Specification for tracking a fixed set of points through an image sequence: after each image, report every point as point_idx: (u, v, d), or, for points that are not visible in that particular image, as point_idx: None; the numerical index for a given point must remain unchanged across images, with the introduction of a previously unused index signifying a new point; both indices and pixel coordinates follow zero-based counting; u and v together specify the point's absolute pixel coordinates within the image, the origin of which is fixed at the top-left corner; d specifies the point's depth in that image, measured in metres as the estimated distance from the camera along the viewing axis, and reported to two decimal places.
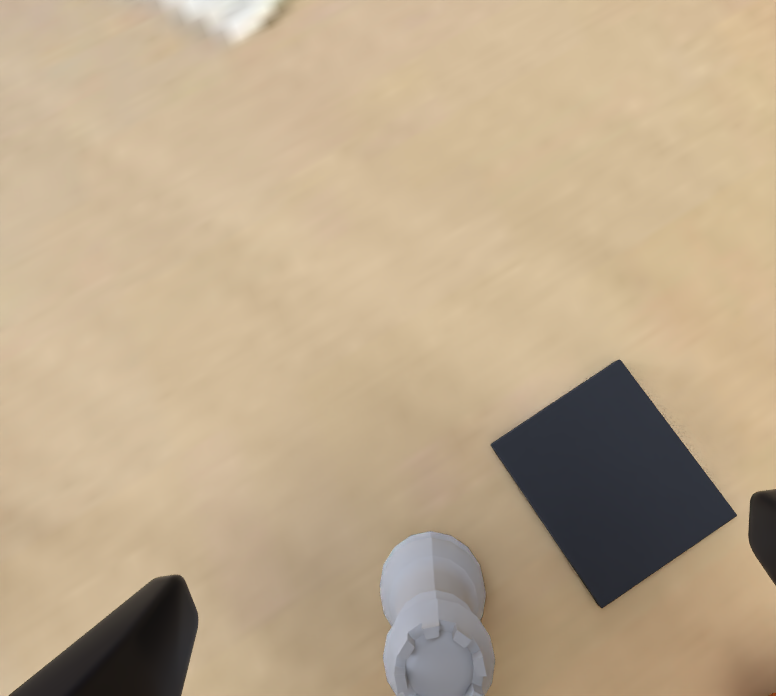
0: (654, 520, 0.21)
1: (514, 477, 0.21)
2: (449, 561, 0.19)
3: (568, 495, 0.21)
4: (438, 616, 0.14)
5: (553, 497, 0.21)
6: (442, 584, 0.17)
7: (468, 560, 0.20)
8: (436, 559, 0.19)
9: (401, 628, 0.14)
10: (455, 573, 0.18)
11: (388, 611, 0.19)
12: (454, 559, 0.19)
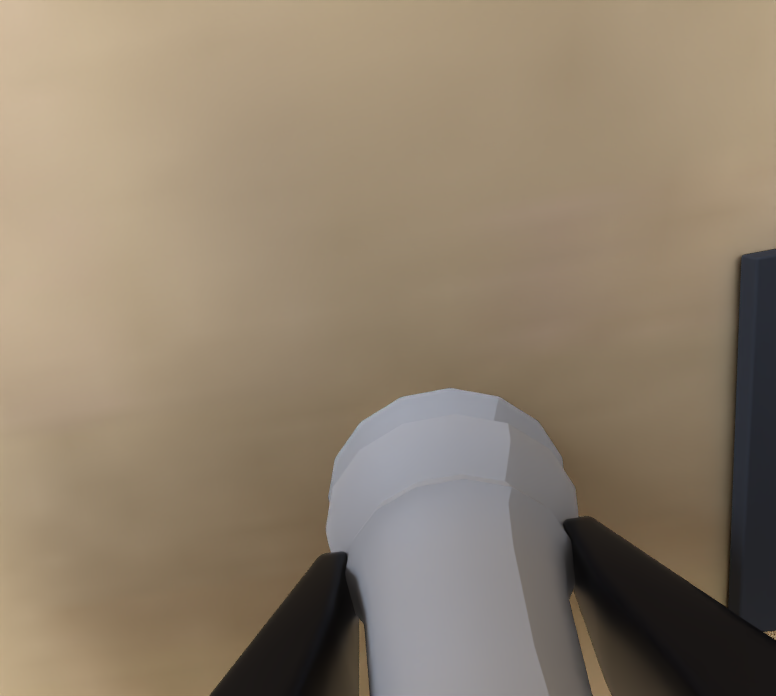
0: None
1: (754, 356, 0.08)
2: (548, 515, 0.07)
3: None
4: None
5: None
6: (550, 630, 0.05)
7: (575, 509, 0.08)
8: (519, 500, 0.07)
9: None
10: (557, 553, 0.07)
11: (339, 542, 0.08)
12: (551, 503, 0.07)
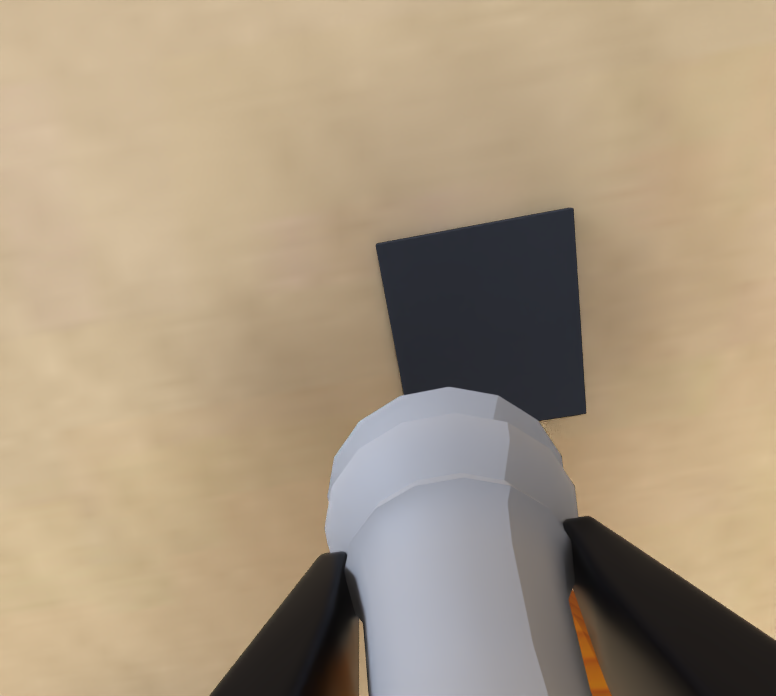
0: (505, 387, 0.19)
1: (385, 290, 0.18)
2: (547, 514, 0.07)
3: (433, 331, 0.18)
4: None
5: (417, 327, 0.18)
6: (550, 629, 0.05)
7: (575, 507, 0.08)
8: (518, 499, 0.07)
9: None
10: (556, 552, 0.07)
11: (338, 541, 0.08)
12: (551, 502, 0.07)
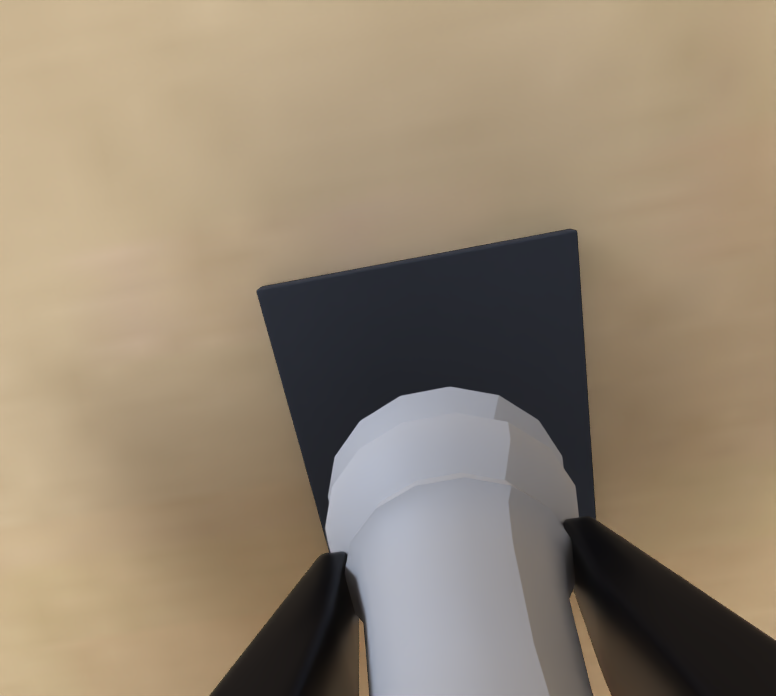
0: None
1: (277, 361, 0.11)
2: (548, 514, 0.07)
3: (357, 422, 0.12)
4: None
5: (331, 416, 0.12)
6: (550, 628, 0.05)
7: (576, 507, 0.08)
8: (519, 499, 0.07)
9: None
10: (557, 552, 0.07)
11: (339, 541, 0.08)
12: (551, 502, 0.07)
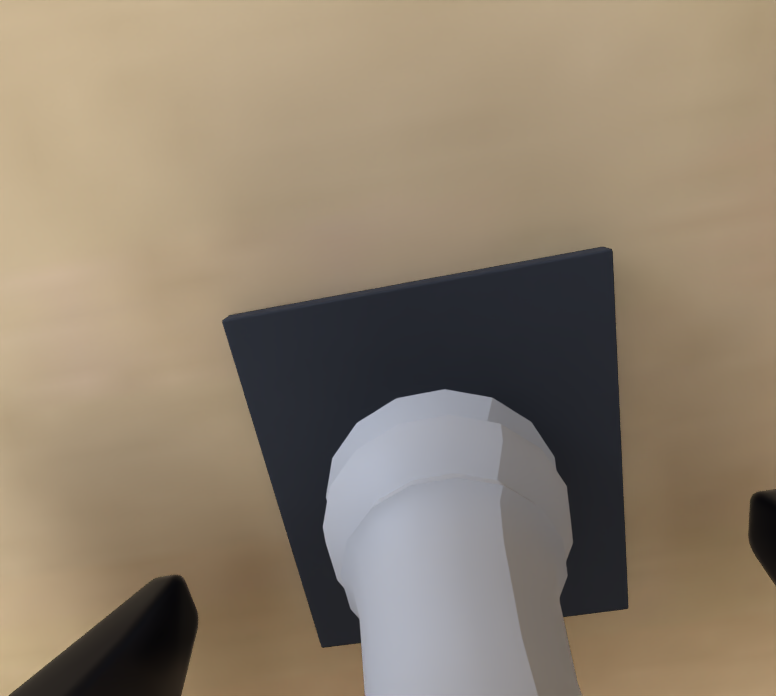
0: None
1: (248, 404, 0.09)
2: (538, 513, 0.07)
3: None
4: None
5: (314, 468, 0.10)
6: (538, 622, 0.05)
7: (566, 507, 0.08)
8: (511, 499, 0.07)
9: None
10: (547, 549, 0.07)
11: (336, 540, 0.08)
12: (543, 501, 0.07)
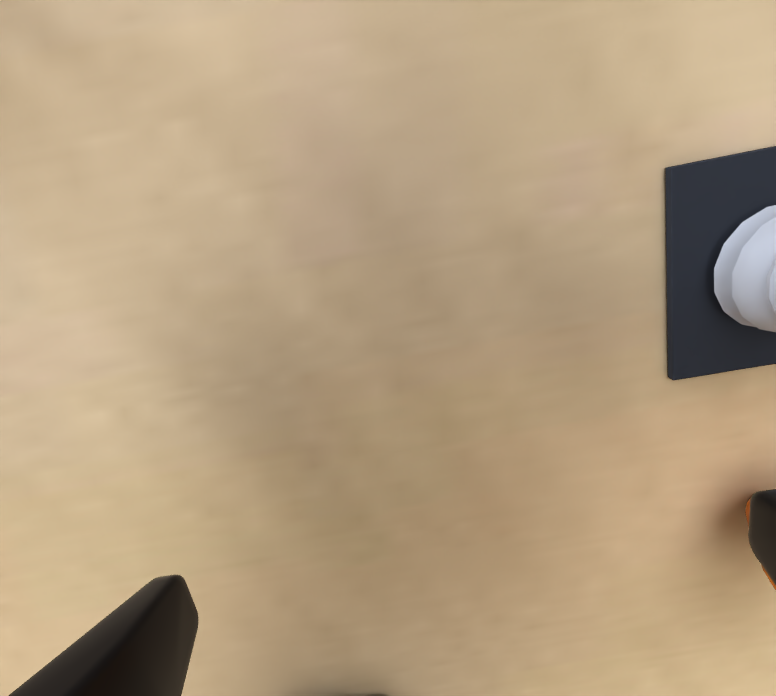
0: None
1: (672, 217, 0.17)
2: None
3: (716, 261, 0.17)
4: None
5: (699, 257, 0.17)
6: None
7: None
8: None
9: None
10: None
11: (755, 269, 0.16)
12: None
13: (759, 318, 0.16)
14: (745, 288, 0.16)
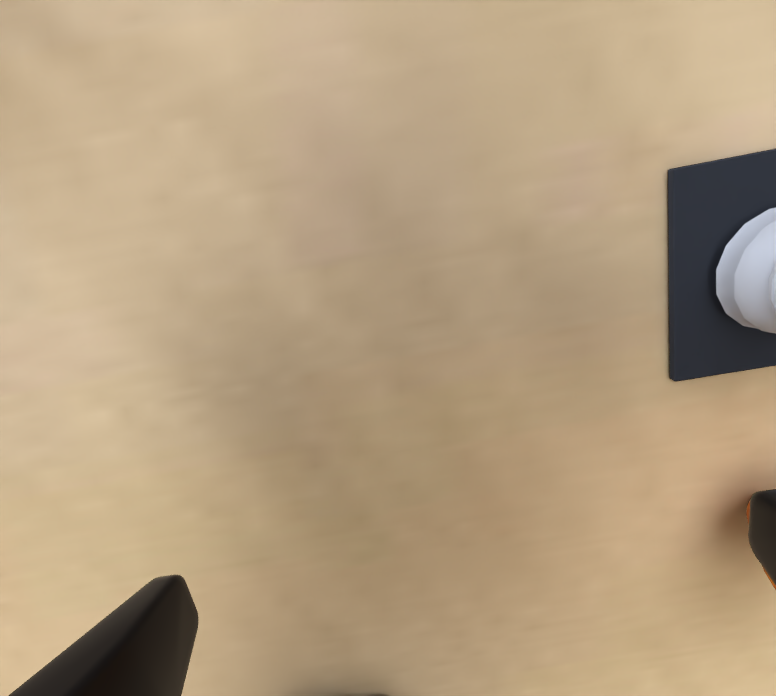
0: None
1: (675, 219, 0.17)
2: None
3: (718, 263, 0.18)
4: None
5: (701, 259, 0.18)
6: None
7: None
8: None
9: None
10: None
11: (757, 270, 0.16)
12: None
13: (761, 320, 0.16)
14: (747, 290, 0.16)
